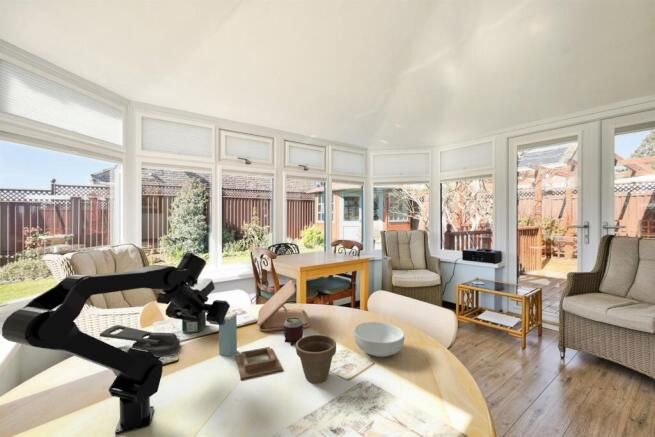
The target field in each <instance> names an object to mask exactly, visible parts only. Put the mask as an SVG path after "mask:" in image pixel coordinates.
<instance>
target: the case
mask: <svg viewBox="0 0 655 437" xmlns="http://www.w3.org/2000/svg"><path fill="white" fill-rule="evenodd" d="M296 287H297V286H296V284H295V283H294V281H293V280H292V279H290V280H288V281H287V282H286V283H285V284H284V285H282V287H281V288H279V289H278V291H276V292H275V294H273V295H272V297H270V298H269V300H267V301H266V302H265V303H264V304H263V305H262V306H261V307H260V308H259V310H258V314H257V315H258V316H257V326H258V330H259V331H260V332H262V333H264V332H276V331H284V330H283V326H284V323H285V321H286V320H287V319H288V318H287V315H286V312H285V310H284V309H281V308H283V307H282V306H285V304H287V303H288V302H289V301H290V300H291V299H292V298H293V296H295V294H296V292H297V289H296ZM279 304H280V305H282V306H280V305H279ZM287 313H288V316H289V318H293V317H294V318H299V319H300V320H301V321H302V324H303V329H307V328H309V327H310V322H309V319H308V315H307V314H306V311H305V310H303V309H301V308H300V309H297V308H295V309H287Z"/></svg>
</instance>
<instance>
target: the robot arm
mask: <svg viewBox="0 0 655 437" xmlns="http://www.w3.org/2000/svg"><path fill="white" fill-rule="evenodd" d="M206 265H207V261H206V260H205V259H204V258H202V257H200V256H199V255H195V254H194V253H193V252H185V254H184V255H183V257H182V259H181V261H180V262H179V264H178V265H177V267H176V266H172V265H164V264H163V265H162V264H151V265H147V266H144V267H141V268H139V269H136V270H132V271H119V272H107V273H95V274H94V273H93V274H92V273H91V274H71V275H67V276H66V277H64V278H63V279H62V280H60V281H59V282H58V283H57V284H56V285H54V286H53V287H52V288H50V289H48V290H46V291H44V292H43V293H41V294H39V295H38V296H36V297H34V298H33V299H32V300H31V301H29V302H28V303H27V304H25V306H23V307H22V308H19V309H17V310H16V311H13V312H12V313H11V314H10V315H8V316H7V318H6V319H5V321H4V322H3V324H2V327H1V337H3V339H5V340H7V341H8V342H11V343H16V344H21V345H25V346H29V347H33V348H38V349H46V350H51V351H61V352H63V353H65V354H68V355H71V356H75V357H77V358H79V359H82V360H83V361H87V362H90V363H92V364H95V365H98V366H100V367H103V368H106V369H109V370H111V371H112V372H113V374H114V375H115V376H116V377H115V379H114V380H113V382H112V383H111V385H110V386H109V388H108V392H109V394H110V396H111V397H115V398H119V420H118V422H117V425H116V427H115V430H114V433H115V435H117V434H122V433H126V432H130V431H134V430H137V429H142V428H145V427H149V426H150V424H151V422H152V417H153V413H154V409H155V407H154V406H153V405H151V401H150V400H151V397H152V396H154V395H155V394H156V393H158V391H159V387H160V383H161V380H162V374H163V366H164V362H163V361H162V360H161V357H162V355H159V356H158V355H153V354H152V353H151V352H149V351H145V350H140V349H135V348H132V347H129V349H128V350H127V351H125V350H122V349H121V348H118V347H117V346H114V345H112V344H110V343H107V342H105V341H103V340H101V339H98V338H96V337H94V336H93V335H90V334H87V333H85V332H83V331H82V330H80V328H79V327H78V325H77V324H76V322H75V320H76V319H77V318H78V317H79V316H80V314H81V313H82V311H83V308H84V306H85V305H86V302H87V301H88V300H89V299H90V298H91V297H92V296H94V295H95V296H96V295H103V294H109V293H116V292H124V291H129V290H130V291H131V290H140V289H151V290H152V289H153V290H161V291H160V292H158V293H157V297H156V303H157V304H165V305H167V307H166V308H165V316H166V317H168V318H171V319H175V320H181V321H182V320H188V321H196V322H199V321H200V317H199V316H198V315H199V314H200V313H201V312H205V315H206V322H208V324H210V325H217V326H219V325H224V324H225V319H224V318H225V316H226V314H227V312H229V309H230V308H231V306H230V303H229V302H228V301H227V300H223V299H222V300H220V299H216V300H214V301H213V302H212V304H211V303H207V302H208V301H209V297H208V296H209V295H210V294H211V293H212V292H213V291H214V290H215V289H216V286H215V284H214V282H213V279H212V278H204V277H203V278H202V277H201V278H199V277H200V275H201V274H202V272H203V270H204V269H205V268H206ZM54 309H55V310H54Z"/></svg>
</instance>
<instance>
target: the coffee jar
mask: <svg viewBox="0 0 655 437" xmlns="http://www.w3.org/2000/svg"><path fill="white" fill-rule="evenodd" d="M206 315H207V314H206V313H205V312H201V313H200V314H199V315H198V316H199V317H200V321H199V322H196V321H188V320H181V331H182V332H183V333H187V334H194V333H196V332H200V331H201V330H203V329H204V328H205V326H206V324H207V321H206Z"/></svg>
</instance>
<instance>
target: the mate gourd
mask: <svg viewBox="0 0 655 437" xmlns="http://www.w3.org/2000/svg"><path fill="white" fill-rule="evenodd" d="M279 305H280V304H279ZM280 306H282V305H280ZM281 308H283V310H285V312H286V315H287V318H288V319H287V320H286V321H285V323H284V326H283V330H282V331H283V337H284V342H285V343H290V347H292V346H294V344H295V343H297V341H298V340H299V339H301V338H303V336H304V335H303V334H304V333H303V332H304V328H303V324H302V321H301V320H300V319H299V318H294V317H293V318H289V316H288V313H287V310H288V309H287V308H286V307H285V305H283V306H282V307H281Z"/></svg>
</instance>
